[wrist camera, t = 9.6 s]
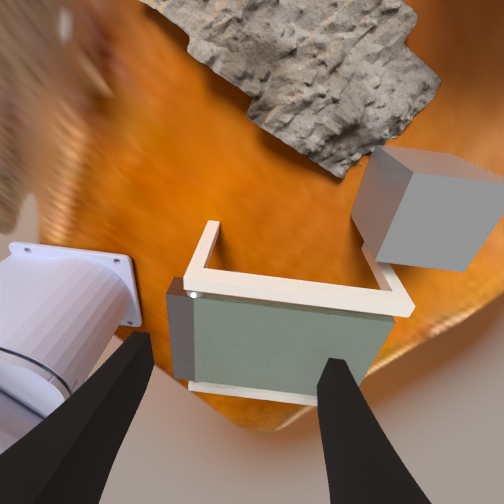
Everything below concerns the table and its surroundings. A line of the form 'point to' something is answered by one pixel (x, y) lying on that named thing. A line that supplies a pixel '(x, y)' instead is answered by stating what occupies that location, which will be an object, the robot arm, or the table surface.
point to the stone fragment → (314, 68)
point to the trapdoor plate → (267, 340)
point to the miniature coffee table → (290, 301)
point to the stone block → (426, 207)
